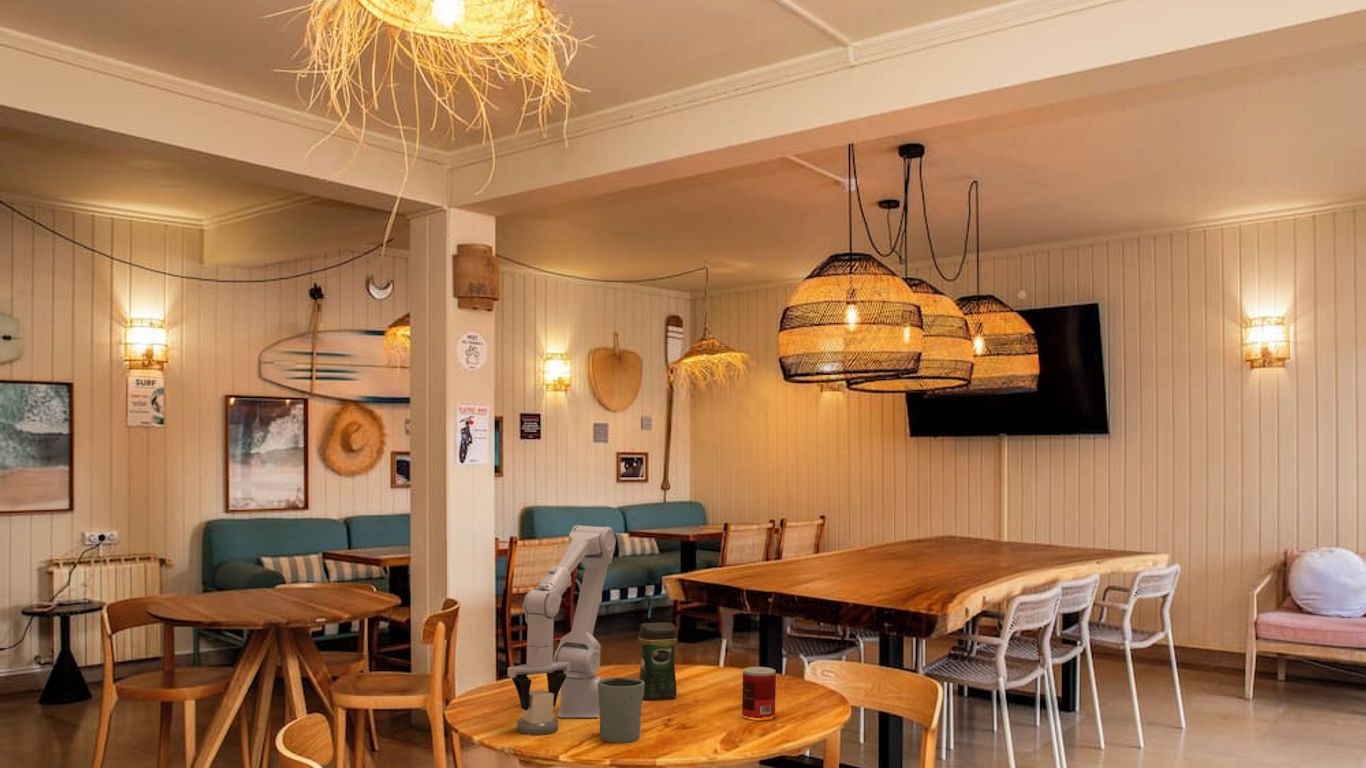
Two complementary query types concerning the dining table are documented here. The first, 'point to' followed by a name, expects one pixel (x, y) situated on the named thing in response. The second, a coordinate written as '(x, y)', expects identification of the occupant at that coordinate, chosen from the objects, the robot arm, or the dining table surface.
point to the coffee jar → (658, 660)
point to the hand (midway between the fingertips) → (538, 707)
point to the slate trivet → (537, 727)
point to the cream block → (539, 707)
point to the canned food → (758, 692)
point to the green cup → (620, 709)
